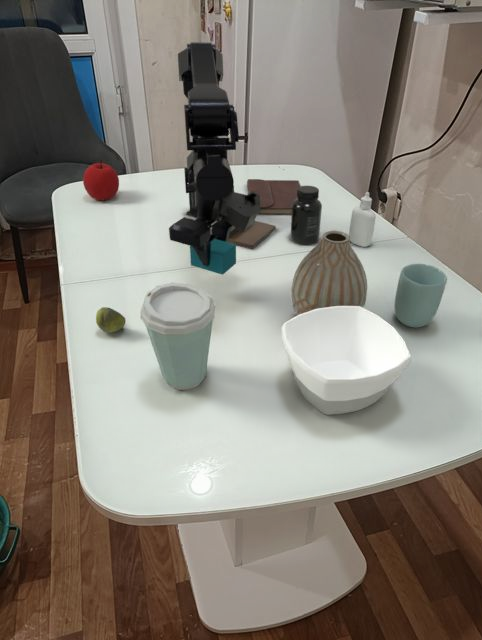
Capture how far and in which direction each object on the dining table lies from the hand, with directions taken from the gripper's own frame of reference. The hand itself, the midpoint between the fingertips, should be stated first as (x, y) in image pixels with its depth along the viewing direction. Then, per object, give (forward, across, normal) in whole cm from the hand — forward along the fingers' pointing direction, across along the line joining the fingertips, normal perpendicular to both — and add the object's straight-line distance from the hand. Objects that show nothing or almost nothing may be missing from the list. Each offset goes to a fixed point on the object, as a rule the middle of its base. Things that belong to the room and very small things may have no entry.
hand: (213, 259), depth 96 cm
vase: (+8, +1, -23) cm, 24 cm away
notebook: (+8, +49, +10) cm, 51 cm away
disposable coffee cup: (+8, -24, -9) cm, 27 cm away
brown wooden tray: (+7, +26, +10) cm, 29 cm away
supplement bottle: (+8, +31, -6) cm, 32 cm away
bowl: (+8, -14, -31) cm, 35 cm away
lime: (+8, -20, +9) cm, 23 cm away
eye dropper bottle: (+8, +36, -18) cm, 41 cm away
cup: (+8, +10, -37) cm, 39 cm away
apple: (+8, +26, +50) cm, 57 cm away
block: (+1, 0, 0) cm, 1 cm away
